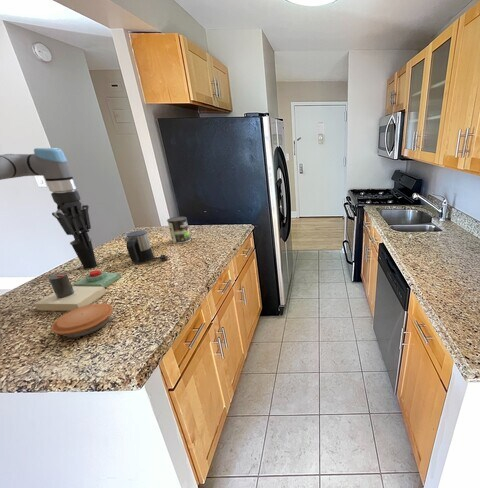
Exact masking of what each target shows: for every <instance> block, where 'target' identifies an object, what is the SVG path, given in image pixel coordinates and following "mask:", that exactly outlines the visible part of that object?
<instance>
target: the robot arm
mask: <svg viewBox="0 0 480 488" xmlns="http://www.w3.org/2000/svg"><path fill="white" fill-rule="evenodd" d="M34 176H35V177H36V176H43V178H44V180H45V182H46V185H47V188H48V190H49V192H51V194H50V195H51V198H52V200H53V202H54V203H55V204H56V209H57V210H56V211H55V212H53V211H52V212H51V215H52V216H53V217H54V218H55V219H56V220H57V221H58V223H59V225H60V227H61V228H62V230H63V231H64V233H65V234H66V236H72V237H73V240H75V241H76V243H78V246H79V248H80V249H88V248H91V244H90V242H89V238H90V235H89V232H90V230H91V229H92V228H91V227H92V226H91V221H90V215H89V214H90V213H89V207H90V206H89V205H88V204H82V202H81V196H80V194H79V191H78V190H77V189H78V188H77V185H76V182H75V179H74V177H73V175H72V172H71V169H70V166H69V162H68V159H67V157H66V155H65V153H64V151H63V150H62V149H61V148H59V147H36V148H34V149H33V153H5V154H0V181H1V180H8V179H15V178H22V177H34Z"/></svg>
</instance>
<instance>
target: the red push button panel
mask: <svg viewBox="0 0 480 488" xmlns="http://www.w3.org/2000/svg"><path fill="white" fill-rule="evenodd" d="M100 272H101V275H99V276H96V277H91V276H90V274H89V273H88V274H87V275H86V276H85V277H83V278H82V279H79V280H78V281H76V282H73V283H72V286H87V287H104V288H105V289H106V287H108V286H110V285H111V284H113V283H114V282H116V281H117V280H119V279H120V278H122V276H121V274H120V272H106V271H104V270H100Z"/></svg>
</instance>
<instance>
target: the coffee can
mask: <svg viewBox="0 0 480 488" xmlns="http://www.w3.org/2000/svg"><path fill="white" fill-rule="evenodd" d="M166 221H167V225H168V230H169V233H170V237H171V241H172V243H173V244H176V245H177V244H178V245H179V244H185V243H188V242H190V241H191V240H192V239H191V234H190V229H189V224H188V220H187V217H186V216H173V217H170V218H167V220H166Z"/></svg>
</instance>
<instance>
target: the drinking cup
mask: <svg viewBox="0 0 480 488" xmlns="http://www.w3.org/2000/svg"><path fill="white" fill-rule="evenodd" d="M89 242H90V244H91V248H88V249H80V248H79V246H78V243H76V241H75V239H73V240H72V241H70V242H69V245H70V246H72V247H71V248H72V249H73V251H74V252H75V254H76V256H77V258H78V260H79V262H80V263H81V265H82V267H83V269H85V270H90V269H94V268H96V267H97V266H98V264H97V259H96V256H95V251H94V248H93V243H92V238H90V237H89Z"/></svg>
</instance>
